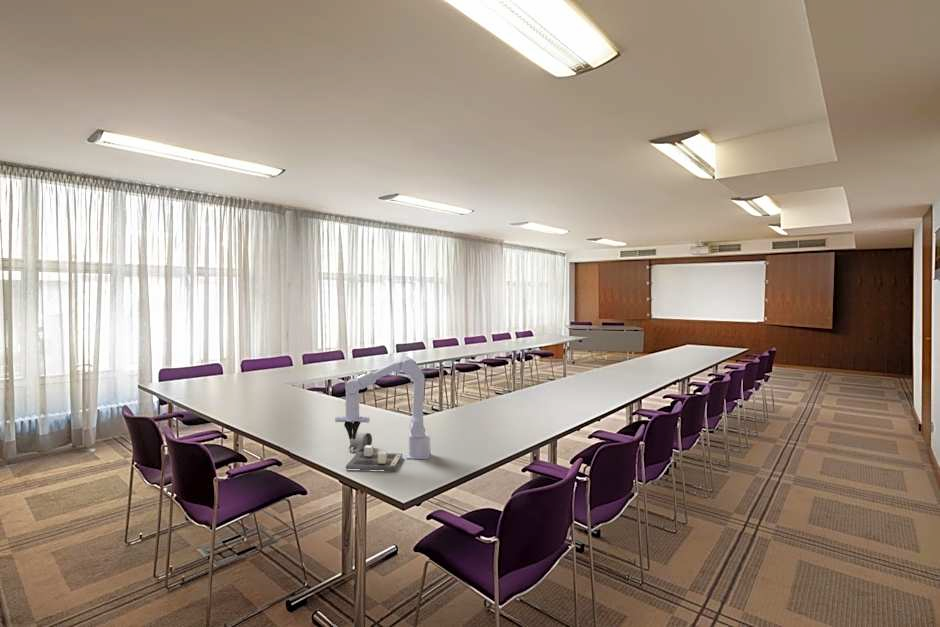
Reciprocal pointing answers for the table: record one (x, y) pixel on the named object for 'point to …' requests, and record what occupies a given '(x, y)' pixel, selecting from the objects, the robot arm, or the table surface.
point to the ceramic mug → (360, 441)
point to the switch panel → (374, 462)
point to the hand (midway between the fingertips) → (352, 438)
